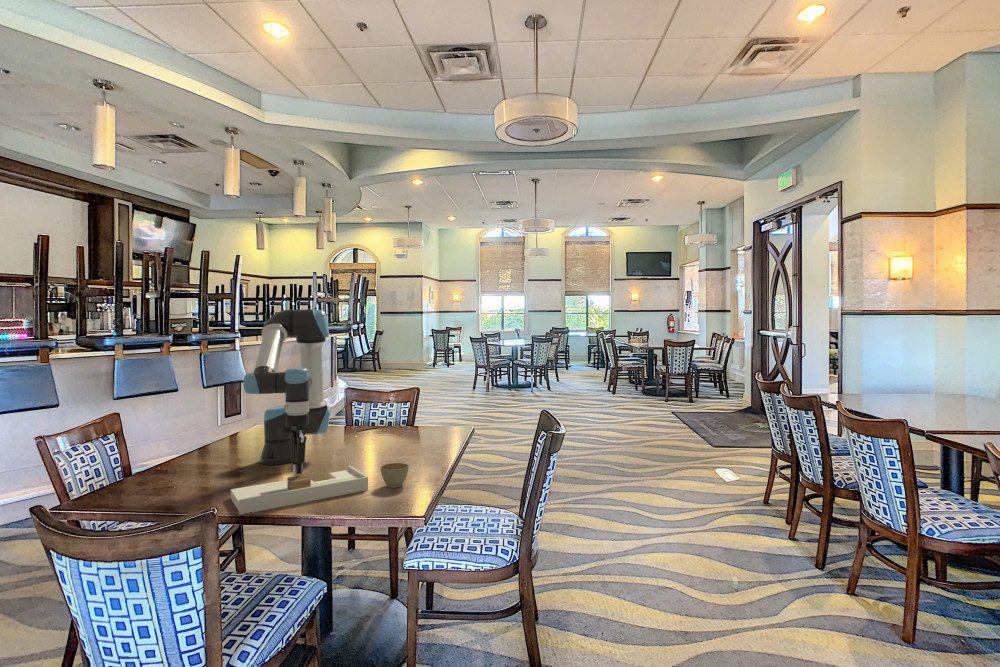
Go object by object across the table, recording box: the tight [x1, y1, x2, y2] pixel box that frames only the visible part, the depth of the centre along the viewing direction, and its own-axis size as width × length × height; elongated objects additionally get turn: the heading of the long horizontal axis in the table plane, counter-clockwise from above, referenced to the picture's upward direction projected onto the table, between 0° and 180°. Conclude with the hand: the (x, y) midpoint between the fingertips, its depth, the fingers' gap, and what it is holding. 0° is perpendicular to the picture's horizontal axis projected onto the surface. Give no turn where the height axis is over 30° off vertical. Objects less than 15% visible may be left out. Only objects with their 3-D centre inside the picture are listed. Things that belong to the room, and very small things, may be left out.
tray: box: [230, 465, 369, 516], centre depth 181 cm, size 19×41×4 cm, turn 125°
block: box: [286, 474, 312, 490], centre depth 178 cm, size 6×6×4 cm
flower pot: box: [380, 462, 410, 489], centre depth 190 cm, size 10×10×7 cm
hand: (298, 482), depth 181 cm, fingers closed
